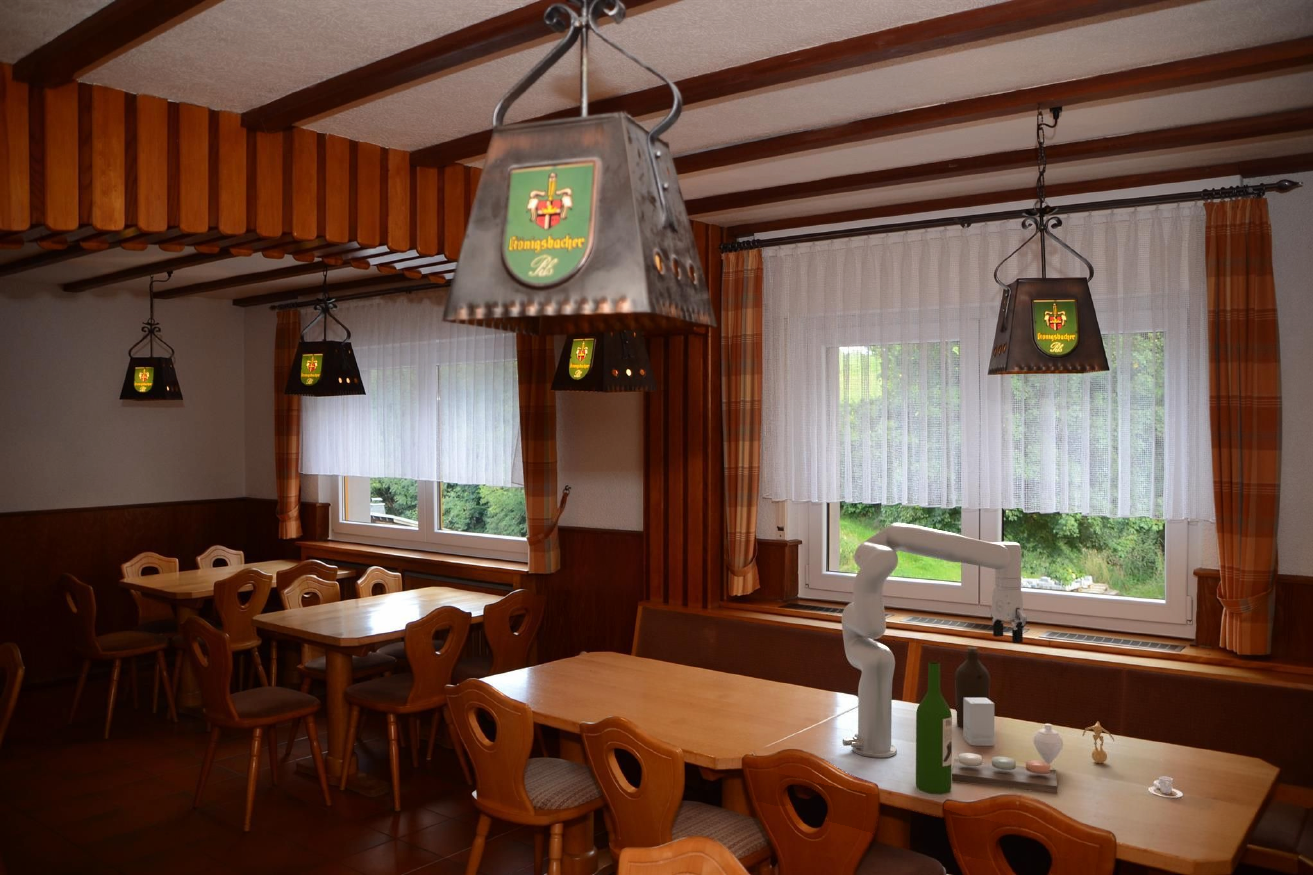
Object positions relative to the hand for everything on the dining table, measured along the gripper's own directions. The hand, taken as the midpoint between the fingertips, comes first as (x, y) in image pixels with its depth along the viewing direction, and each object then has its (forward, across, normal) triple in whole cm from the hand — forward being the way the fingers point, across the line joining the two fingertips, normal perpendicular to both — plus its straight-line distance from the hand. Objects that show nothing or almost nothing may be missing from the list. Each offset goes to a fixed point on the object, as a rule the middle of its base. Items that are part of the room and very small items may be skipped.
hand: (1007, 639), depth 292 cm
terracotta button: (+27, +34, -14) cm, 46 cm away
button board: (+31, +30, -21) cm, 48 cm away
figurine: (+31, +24, +13) cm, 41 cm away
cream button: (+27, +25, -28) cm, 46 cm away
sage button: (+27, +30, -21) cm, 45 cm away
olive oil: (+31, -16, -2) cm, 35 cm away
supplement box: (+31, -1, -9) cm, 32 cm away
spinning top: (+31, +24, -3) cm, 39 cm away
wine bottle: (+31, +32, -43) cm, 62 cm away
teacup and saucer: (+31, +47, +18) cm, 59 cm away
